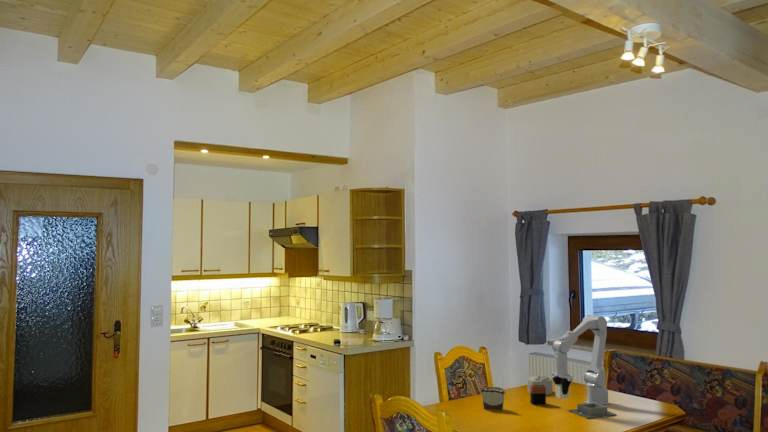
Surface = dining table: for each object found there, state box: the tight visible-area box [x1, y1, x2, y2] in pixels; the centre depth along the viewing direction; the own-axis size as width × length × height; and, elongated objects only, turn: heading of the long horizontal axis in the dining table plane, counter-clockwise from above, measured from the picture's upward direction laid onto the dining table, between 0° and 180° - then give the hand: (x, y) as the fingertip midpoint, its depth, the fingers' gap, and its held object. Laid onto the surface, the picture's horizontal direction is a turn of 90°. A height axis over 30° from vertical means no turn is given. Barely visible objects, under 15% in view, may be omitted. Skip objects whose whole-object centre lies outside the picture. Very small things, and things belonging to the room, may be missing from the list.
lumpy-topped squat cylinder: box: [526, 374, 554, 396], centre depth 318 cm, size 10×13×9 cm
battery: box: [529, 383, 547, 406], centre depth 294 cm, size 4×7×10 cm, turn 93°
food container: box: [480, 386, 506, 412], centre depth 286 cm, size 12×6×10 cm, turn 65°
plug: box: [554, 383, 570, 399], centre depth 285 cm, size 5×4×6 cm
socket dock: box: [568, 402, 617, 420], centre depth 276 cm, size 16×14×4 cm
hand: (562, 393), depth 285 cm, fingers closed on plug, 4 cm apart
